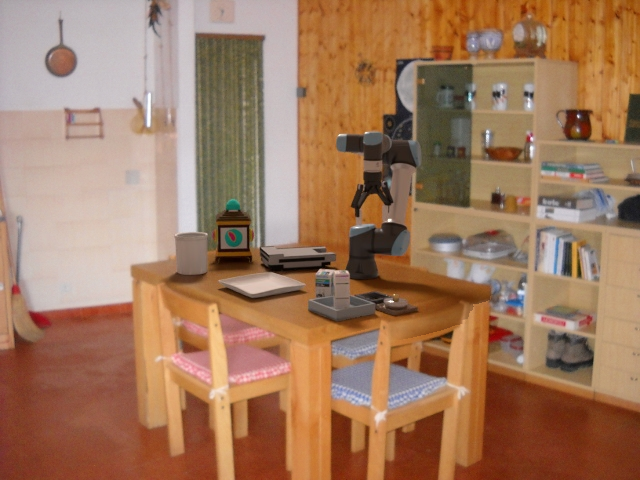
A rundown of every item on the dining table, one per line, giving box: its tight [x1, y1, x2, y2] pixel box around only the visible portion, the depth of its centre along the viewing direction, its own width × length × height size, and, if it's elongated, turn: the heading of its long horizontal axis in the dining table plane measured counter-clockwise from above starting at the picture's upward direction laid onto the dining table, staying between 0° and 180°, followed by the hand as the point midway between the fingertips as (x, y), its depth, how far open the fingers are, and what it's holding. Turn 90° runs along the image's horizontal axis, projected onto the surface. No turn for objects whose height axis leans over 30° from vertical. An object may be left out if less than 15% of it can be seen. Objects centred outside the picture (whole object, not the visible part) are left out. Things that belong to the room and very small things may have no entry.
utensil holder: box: [174, 231, 209, 276], centre depth 353 cm, size 15×15×18 cm
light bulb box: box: [314, 268, 336, 299], centre depth 310 cm, size 11×7×11 cm, turn 170°
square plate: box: [217, 271, 307, 299], centre depth 324 cm, size 27×27×4 cm
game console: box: [259, 245, 337, 273], centre depth 368 cm, size 21×32×8 cm, turn 107°
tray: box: [307, 294, 376, 322], centre depth 291 cm, size 18×18×4 cm
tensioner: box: [353, 290, 419, 317], centre depth 299 cm, size 24×12×6 cm, turn 35°
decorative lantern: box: [212, 198, 255, 264], centre depth 378 cm, size 20×20×30 cm
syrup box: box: [333, 269, 351, 310], centre depth 290 cm, size 6×6×14 cm
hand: (372, 223), depth 313 cm, fingers open, 13 cm apart
